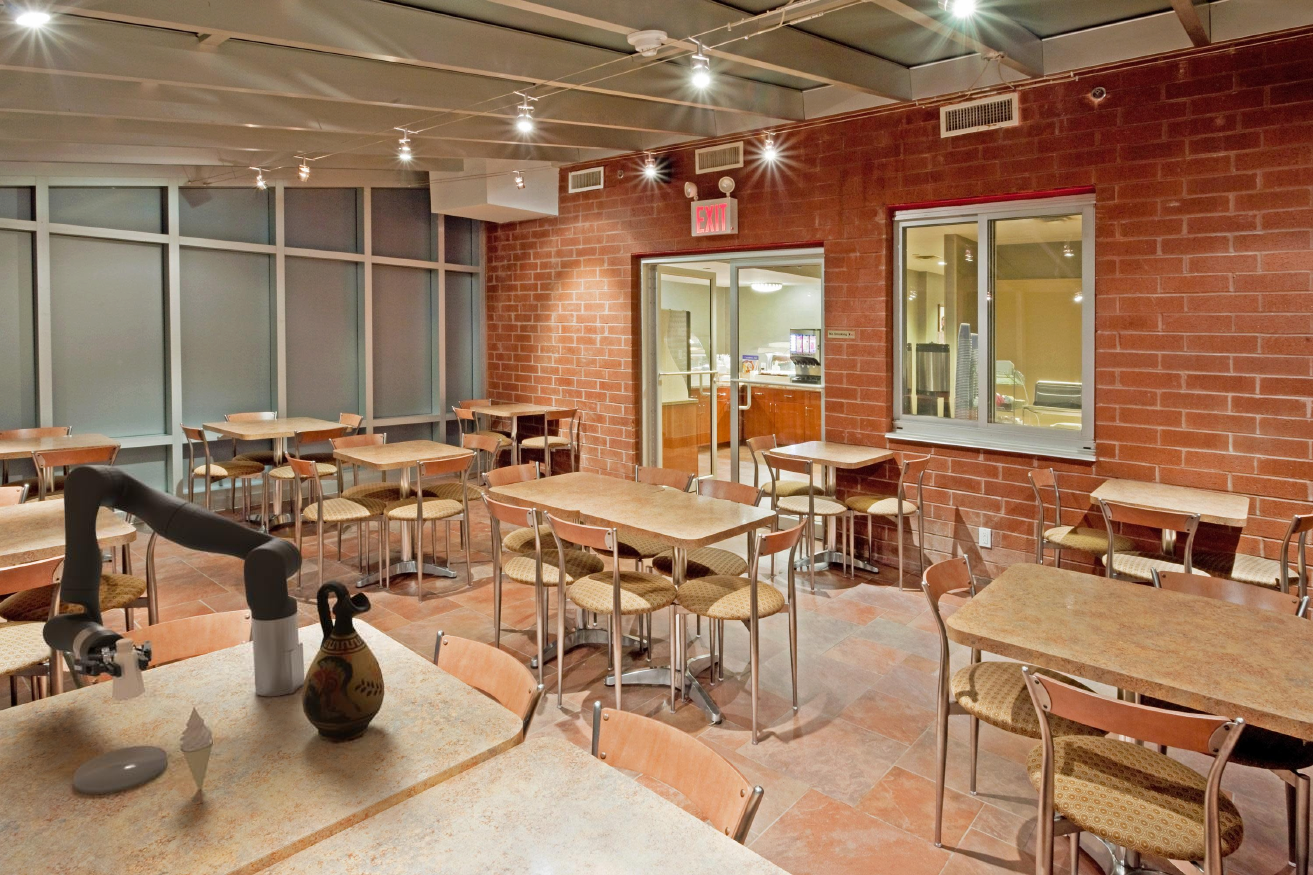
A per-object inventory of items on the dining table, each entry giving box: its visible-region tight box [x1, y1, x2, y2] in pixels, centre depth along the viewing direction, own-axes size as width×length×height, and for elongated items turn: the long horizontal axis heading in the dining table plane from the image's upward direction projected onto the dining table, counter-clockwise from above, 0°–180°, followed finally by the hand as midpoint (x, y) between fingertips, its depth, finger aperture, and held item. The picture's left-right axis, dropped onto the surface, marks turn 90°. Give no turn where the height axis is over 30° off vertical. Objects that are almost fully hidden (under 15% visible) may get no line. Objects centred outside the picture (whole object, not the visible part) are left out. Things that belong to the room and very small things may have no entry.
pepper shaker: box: [111, 637, 146, 701], centre depth 156 cm, size 5×5×11 cm
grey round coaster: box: [72, 745, 168, 795], centre depth 144 cm, size 14×14×2 cm
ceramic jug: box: [301, 580, 385, 744], centre depth 159 cm, size 17×15×30 cm
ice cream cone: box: [178, 706, 215, 791], centre depth 138 cm, size 5×5×15 cm
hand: (132, 668), depth 154 cm, fingers closed on pepper shaker, 3 cm apart
